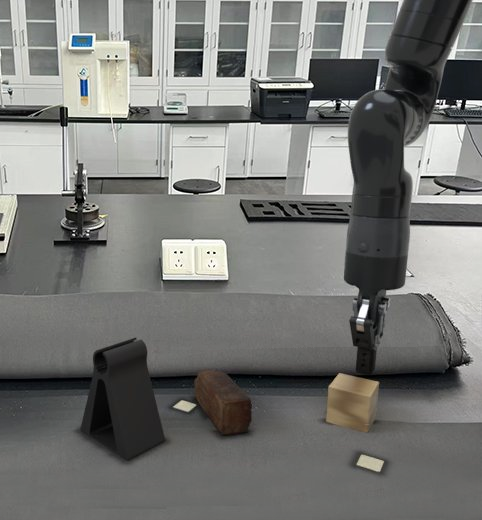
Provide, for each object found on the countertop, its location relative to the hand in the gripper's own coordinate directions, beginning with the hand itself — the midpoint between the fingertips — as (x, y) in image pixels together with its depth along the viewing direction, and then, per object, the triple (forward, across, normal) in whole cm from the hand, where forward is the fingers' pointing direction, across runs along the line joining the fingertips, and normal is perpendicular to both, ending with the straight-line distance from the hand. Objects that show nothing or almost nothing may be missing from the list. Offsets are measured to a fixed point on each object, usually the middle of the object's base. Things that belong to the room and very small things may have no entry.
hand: (365, 372), depth 73 cm
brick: (+4, -15, +14) cm, 21 cm away
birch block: (+4, -7, 0) cm, 8 cm away
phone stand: (+4, -27, +22) cm, 35 cm away
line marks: (+4, -16, +7) cm, 18 cm away
